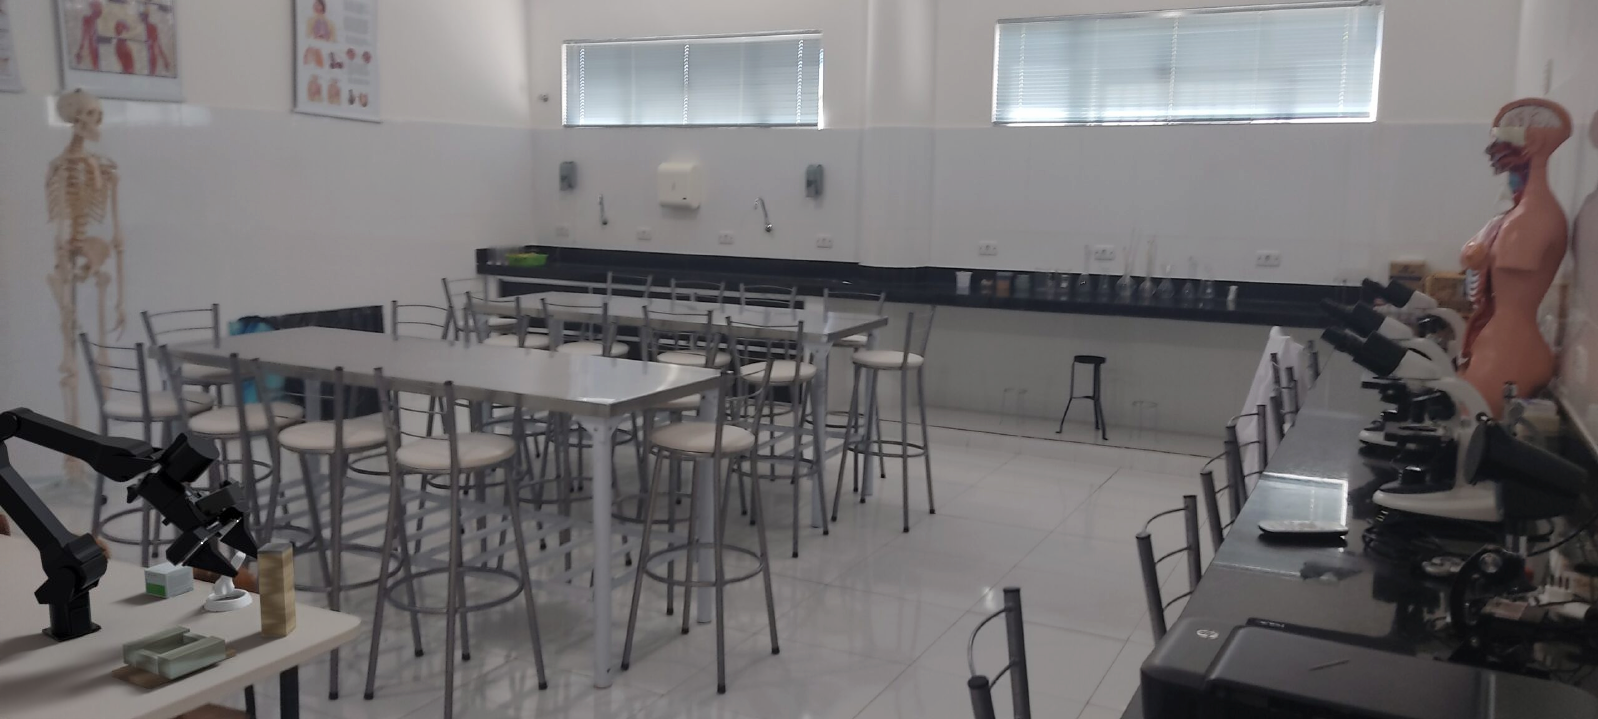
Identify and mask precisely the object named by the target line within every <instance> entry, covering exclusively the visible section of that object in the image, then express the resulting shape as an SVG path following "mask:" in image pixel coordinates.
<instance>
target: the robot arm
mask: <svg viewBox="0 0 1598 719" xmlns="http://www.w3.org/2000/svg"><path fill="white" fill-rule="evenodd" d="M13 437H15V438H18V439H20V440H23V441H27V442H29V443H32V444H34V445H38V446H41V447H43V448H46V449H49V450H52V451H55V452H58V453H61V454H64V455H66V456H70V457H72V458H74V459H75V458H76V459H79V460H81V461H83V462H84V463H86V464H88V466H90V467H91V468H92V470H94V471H95V473H98V474H99V475H102V476H104V477H105V478H108V479H109V480H111V481H114V482H116V483H125V482H129V481H130V480H133V479H135V478H138V477H140V476H142V475H144V476H143V478H142V479H140V481H139V482H138V483H132V484H130V485H128V486H126V491H127V494H126V503H127V504H132V503H134V502H136V501H139V500H140V499H143V500H144V501H145V502H146V503H148V504H149V505H150V507H152V508H153V509H154V510H155V511H156V512H158V513H159V514H160V515H161V516H162V517H163V518H164V519H163V520H162V521H161V523H162V525H164V526H165V527H167V526H169V525H172V526H173V527H174V528H176V529H177V530H178V531H179V532H180V533H181V534H180V535H179V536H178V537H177V539H176V540H174V541H173V542H172V544H170V545H169V546H168V548H167V549H166V550H165V559H166V560H167V562H168V561H169V562H171V563H172V564H173V565H174V566H177V565H178V564H180V563H183V564H182V566H183V567H185V566H189V567H192V569H198V570H203V571H207V572H210V573H214V574H218V575H220V576H222V575H224V576H227V577H231V578H232V579H235V578H236V577H237V576H238V575H239V571H238V570H236V569H235V568H234V566H233V565H232V564H231V563H230V562H231V561H230V560H228V559H227V557H226V556H225V555H224V554H223V552H221V551H220V550H219V549H218V548H217V543H216V541H217V540H216V538H220V539H219V542H220V543H223V544H224V545H226V546H228V547H231V548H232V549H234V550H237V551H238V552H239V551H240V552H242V553H244V554H246V556H248V557H251V558H253V559H255V560H257V561H258V556H257V550H259V549H260V548H261V547H260V546H259V545H258V543H257V541H256V540H255V538H254V536H253V534H252V532H251V530H250V527H249V523H250V522H249V519H250V518H251V513H250V511H251V509H252V508H251V507H250V506H249V505H248V504H247V503H245V502H244V500H245V499H246V496H245V494H244V490H245V485H244V484H243V483H240V481H239V480H237V479H235V478H233V477H229V478H227V479H224V480H223V481H220V482H219V484H218V485H219V488H218V489H217V490H214V491H213V492H211V493H208V494H207V493H206V492H205V491H203V490H200V489H199V490H197V491H195V492H194V490H192V489H191V488H190V487H189V486H187V485H186V484H185V483H196V482H197V481H198V479H199V478H201V476H202V475H203V474H205V472H206V471H208V469H209V468H210V467H212V465H213V464H214V463H215V462H216V461H218V459H219V458H220V456H221V453H220V450H219V448H218V447H217V446H216V444H214V442H212V441H211V440H210V439H207V438H205V437H203V436H201V435H197V434H193V433H192V432H191V431H190V430H189V429H186V430H185V431H181V432H180V433H179V434H178V435H177V436H176V438H175V439H174V441H173V442H172V443H171V444H170V445H169V446H168V447H159V446H153V445H152V444H151V443H149V442H148V441H145V440H143V439H137V438H134V437H133V438H132V437H126V436H113V435H111V436H110V435H109V436H108V435H107V436H106V435H102V434H98V433H96V432H92V431H89V430H86V429H84V428H81V427H78V426H76V425H71V424H70V423H67V422H63V421H61V420H57V419H55V418H52V417H49V416H46V415H43V414H41V413H38V412H35V411H33V410H32V409H31V408H28V407H23V406H20V407H16V408H12V409H9V410H4V411H2V412H1V413H0V508H1V509H2V510H3V511H4V512H5V513H6V514H7V516H8V517H9V518H10V519H11V520H12V521H13V522H14V523H15V525H16V526H17V527H18V529H20V530H21V532H22V533H23V534H24V535H25V536H26V537H27V538H28V539H29V541H30V542H31V543H32V544H33V545H34V547H36V549H37V550H38V552H39V555H40V556H39V557H40V562H41V568H42V571H43V572H44V574H45V575H46V577H47V579H46V580H45V581H44V582H43V583H42V584H41V585H40V586H39V587H38V588H37V589H36V590H35V591H34V593H33V594H34V597H35V599H36V601H37V603H38V605H48V611H49V612H48V614H49V625H50V627H46V628H42V629H41V633H42V634H44V635H46V636H49V637H50V638H51V639H55V640H56V641H59V642H60V641H64V640H68V639H72V638H74V637H78V636H82V635H85V634H88V633H92V632H96V631H99V630H101V629H102V626H101V624H98V623H95V622H94V621H92V609H91V596H90V591H91V590H93V589H95V588H97V587H99V584H100V580H101V578H102V577H103V576H104V575H105V574H106V572H107V569H108V564H109V560H108V558H107V556H106V555H105V553H104V552H106V550H107V549H106V548H104V547H102V546H100V544H98V542H97V541H96V539H95V538H94V536H93V535H92V534H91V533H89V532H86V533H84V534H82V535H80V536H79V535H77V534H76V533H72V532H71V531H69V530H68V529H67V528H66V526H64V524H63V523H62V522H61V521H60V519H58V517H57V516H56V515H55V514H54V513H53V512H52V510H51V509H50V508H49V507H48V506H47V505H46V503H45V502H44V501H43V500H42V499H41V497H39V496H38V495H37V493H36V492H35V491H34V489H33V488H32V487H31V486H30V485H29V484H28V483H27V482H26V480H25V479H24V478H23V477H22V476H21V474H20V473H19V472H18V471H17V470H16V469H15V468H14V467H13V466H12V463H11V461H10V457H9V450H8V445H7V444H6V443H5V441H8V440H10V439H12V438H13ZM160 466H161V467H160ZM157 467H159V469H158V470H157V471H156V472H150V471H152V469H155V468H157ZM145 474H146V475H145Z"/></svg>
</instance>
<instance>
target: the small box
mask: <svg viewBox="0 0 1598 719" xmlns="http://www.w3.org/2000/svg"><path fill="white" fill-rule="evenodd" d="M183 563H184V562H181V563H180V564H178V565H177V566H174V565H173V564H172V563H171V562H169V561H168V560H167V561H166V562H162V563H159V564H157V565H153V566H150V567H147V568H146V569H144V573H143V574H144V583H145V584H144V585H145V595H149V596H150V595H151V596H154V597H159V598H164V599H171V598H170V597H172V598H174V597H176V595H177V596H179V595H182V594H185V593H188V592H191V591H193V590H195V585H194V572H193V571H194V570H193V569H194V568H193V567H189V566H185V567H183V566H182V564H183Z"/></svg>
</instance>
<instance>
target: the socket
mask: <svg viewBox="0 0 1598 719" xmlns="http://www.w3.org/2000/svg"><path fill="white" fill-rule="evenodd" d="M236 652H237V651H236V650H235V649H232V648H229V647H226V640H225V638H221V637H219V636H214V635H211V636H208V637H207V636H205V635H201V634H198V633H195V632H192V631H191V628H188V627H186V626H182V625H175V626H172V627H169V628H166V629H163V630H160V631H157V632H154V633H152V634H148V635H146V636H142V637H141V638H136V639H134V640H132V641H127V642H126V643H123V644H122V656H123V658H122V659H123V664H126V665H125V666H122V667H119V668H116V669H114V670H112V671H111V672H112V674H111V675H112V677H115V678H117V679H120V680H123V681H126V682H129V683H131V684H134V685H138V686H140V687H143V688H146V689H149V690H150V689H153V688H155V687H158V686H160V685H164V684H165V683H168V682H171V681H173V680H174V681H175V680H176V679H179V678H181V677H184V676H186V675H189V674H192V673H194V672H197V671H199V670H201V669H202V670H203V669H205V668H207V667H210V666H212V665H215V664H217V663H220V662H222V661H223V662H224V661H226V660H227V659H230V658H233V657H236V656H237V653H236Z"/></svg>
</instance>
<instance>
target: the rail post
mask: <svg viewBox="0 0 1598 719" xmlns="http://www.w3.org/2000/svg"><path fill="white" fill-rule="evenodd" d="M259 548H260V549H259V550H257V556H258V560H257V572H258V590H259V592H258V593H259V604H260V605H259V608H260V610H259V611H260V624H261V625H260V628H261V636H262V637H288V636H289V635H290V634H291V633H292V632H293V631H294V630H295V629H296V628H297V614H296V612H297V610H296V594H295V590H296V589H295V575H294V574H295V572H294V570H295V569H294V556H293V553H294V552H293V543H292V542H267V543H266V544H263V546H261V547H259Z"/></svg>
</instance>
